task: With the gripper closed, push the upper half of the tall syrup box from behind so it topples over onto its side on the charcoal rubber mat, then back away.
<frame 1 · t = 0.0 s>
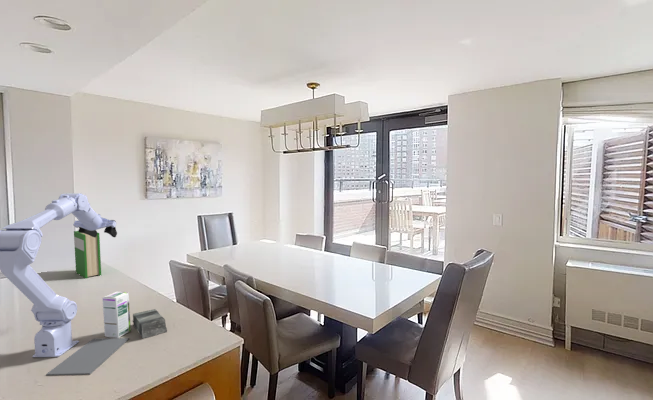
hand: (105, 235, 134), 32 cm above the kitchen island, tool tilted 50°, fingers open, 7 cm apart
hardback book: (88, 274, 191), on the kitchen island
syrup box: (117, 334, 119), on the kitchen island
stone block: (151, 329, 124), on the kitchen island
mat: (91, 355, 105), on the kitchen island
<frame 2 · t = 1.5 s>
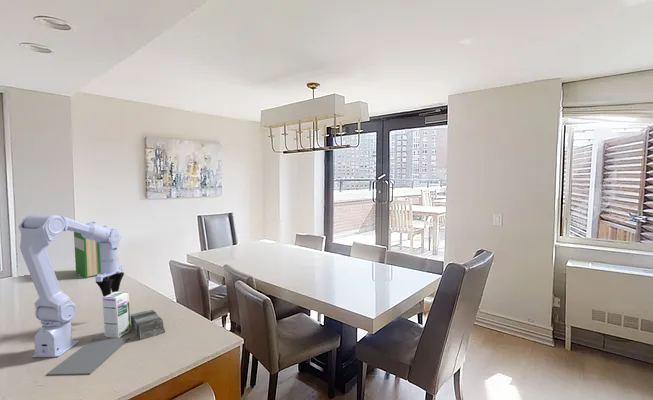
hand: (111, 294, 130), 10 cm above the kitchen island, tool pointing down, fingers open, 5 cm apart
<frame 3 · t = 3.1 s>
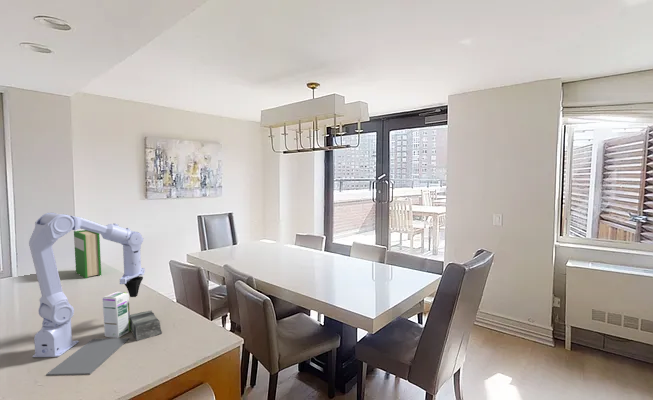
hand: (133, 296, 130), 9 cm above the kitchen island, tool pointing down, fingers closed
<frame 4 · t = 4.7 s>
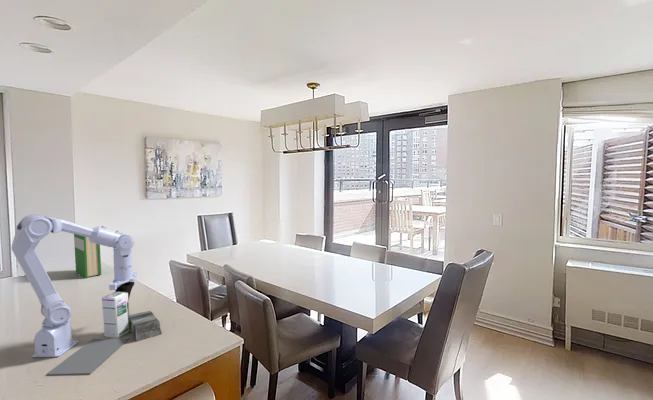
hand: (124, 302, 124), 9 cm above the kitchen island, tool pointing down, fingers closed
syrup box: (117, 334, 119), on the kitchen island, touching gripper
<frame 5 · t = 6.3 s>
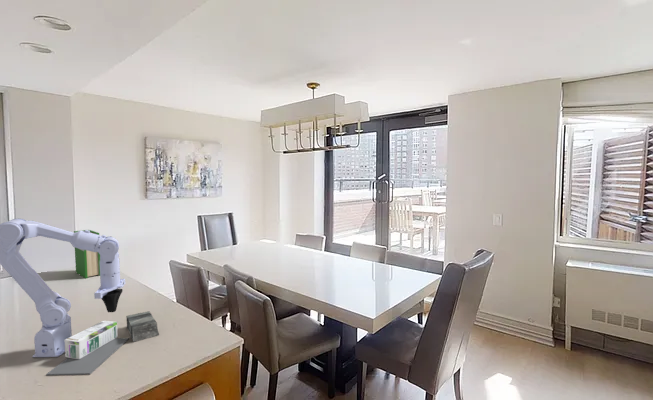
hand: (111, 311, 116), 9 cm above the kitchen island, tool pointing down, fingers closed
syrup box: (111, 328, 117), point 3 cm above the kitchen island, touching mat
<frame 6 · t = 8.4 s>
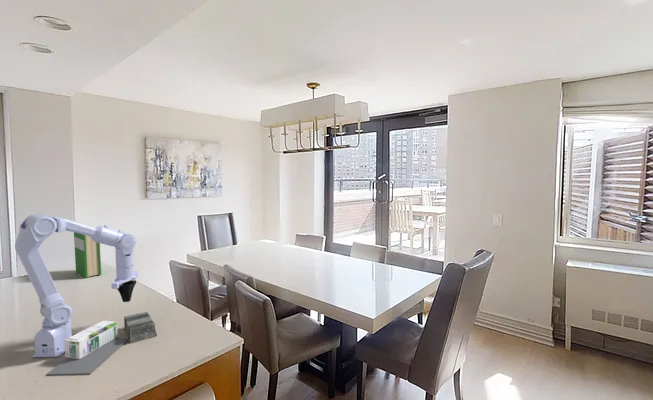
hand: (126, 301, 125), 9 cm above the kitchen island, tool pointing down, fingers closed
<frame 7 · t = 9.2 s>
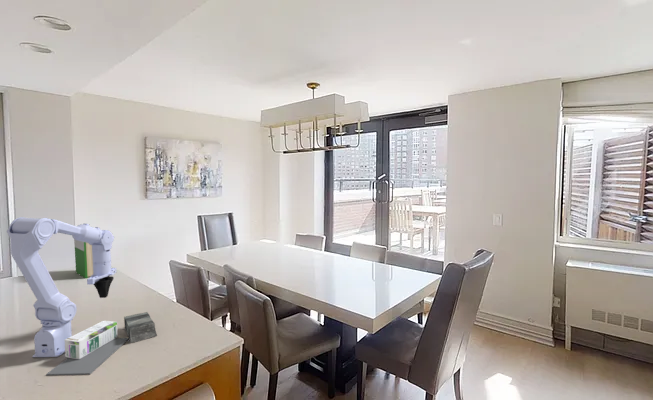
hand: (103, 297, 127), 10 cm above the kitchen island, tool pointing down, fingers closed
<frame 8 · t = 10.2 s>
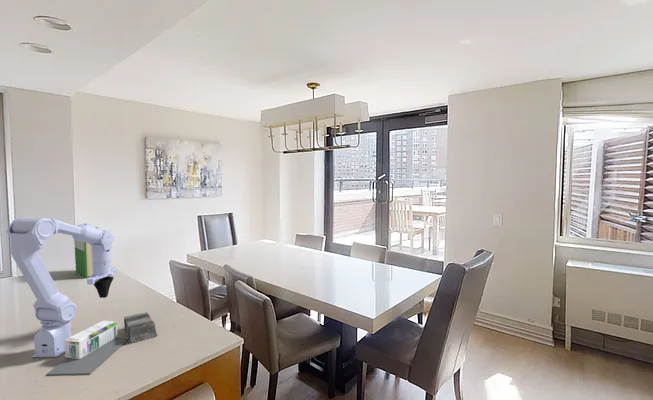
hand: (103, 297, 127), 10 cm above the kitchen island, tool pointing down, fingers closed
at the end: syrup box tilted 90°; syrup box touching mat; syrup box inside the target area (8.1 cm from its centre), point 3.2 cm above the kitchen island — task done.
